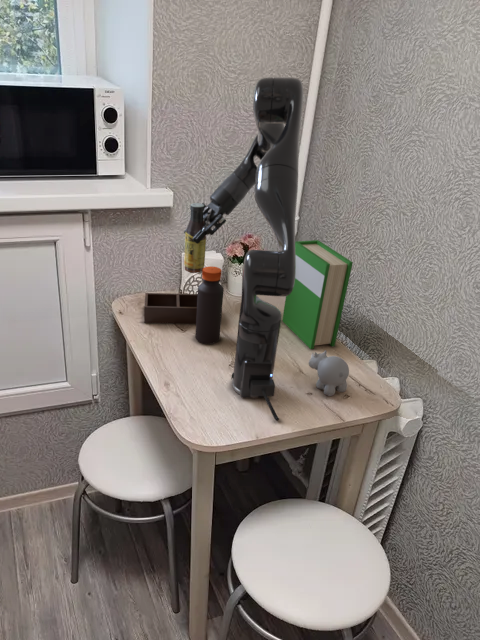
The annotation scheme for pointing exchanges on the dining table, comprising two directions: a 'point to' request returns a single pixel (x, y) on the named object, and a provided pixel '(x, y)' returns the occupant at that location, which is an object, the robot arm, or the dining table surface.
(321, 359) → the round bodied animal figurine
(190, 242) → the sauce bottle
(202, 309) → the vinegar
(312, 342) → the hardback book
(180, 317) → the divided storage box
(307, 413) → the dining table surface
